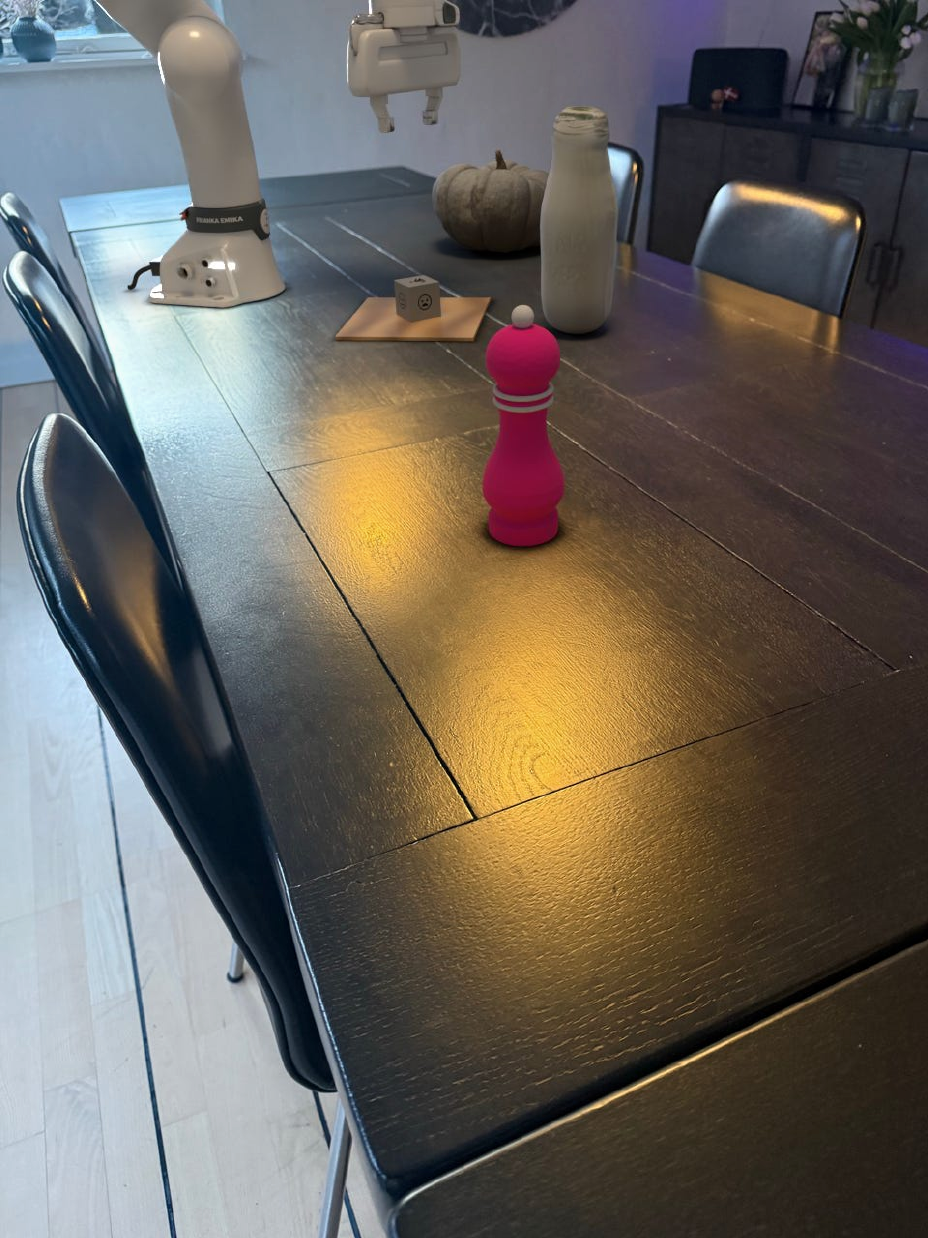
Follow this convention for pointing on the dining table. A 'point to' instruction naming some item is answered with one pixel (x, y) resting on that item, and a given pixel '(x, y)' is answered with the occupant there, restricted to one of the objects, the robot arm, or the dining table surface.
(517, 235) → the gourd
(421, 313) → the grey emoticon cube
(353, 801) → the dining table surface
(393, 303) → the brown wooden board
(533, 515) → the pepper mill
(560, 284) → the glass bottle
